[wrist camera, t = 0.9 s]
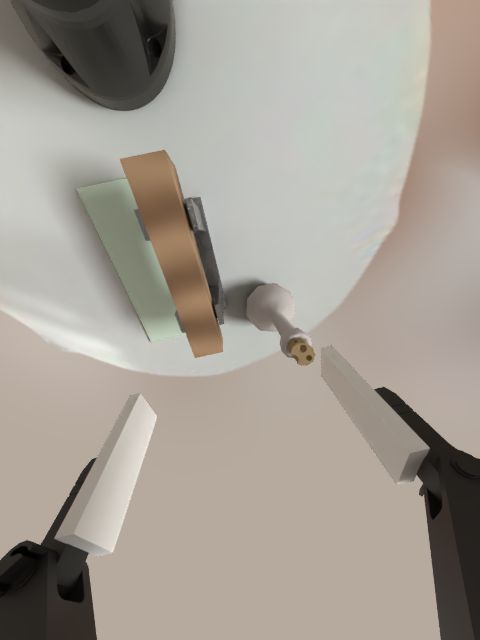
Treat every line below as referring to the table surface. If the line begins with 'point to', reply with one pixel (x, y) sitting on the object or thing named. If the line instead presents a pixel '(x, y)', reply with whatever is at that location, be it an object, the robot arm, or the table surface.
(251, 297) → the potion bottle
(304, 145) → the table surface
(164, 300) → the mat
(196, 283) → the rail
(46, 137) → the table surface
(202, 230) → the rack
